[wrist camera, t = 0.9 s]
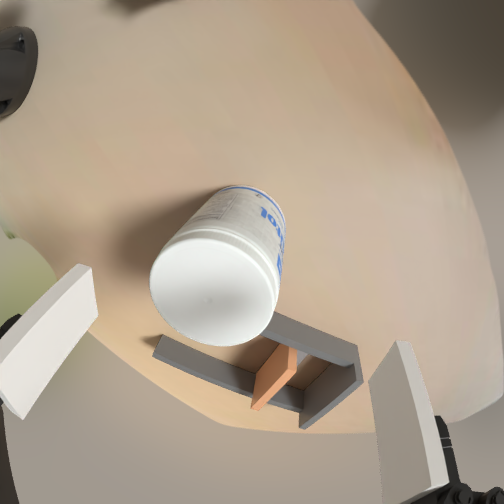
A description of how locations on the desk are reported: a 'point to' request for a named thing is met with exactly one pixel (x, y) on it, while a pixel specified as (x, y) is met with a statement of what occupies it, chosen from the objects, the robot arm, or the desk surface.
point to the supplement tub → (222, 268)
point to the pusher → (275, 374)
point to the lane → (304, 402)
